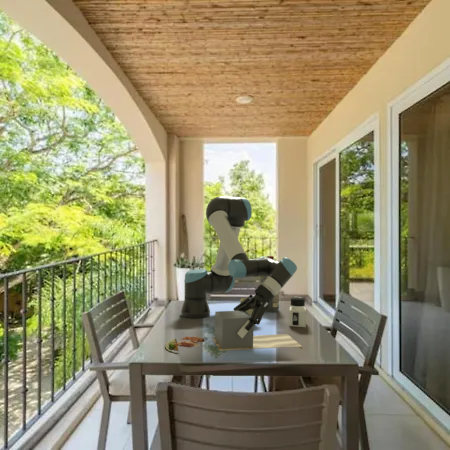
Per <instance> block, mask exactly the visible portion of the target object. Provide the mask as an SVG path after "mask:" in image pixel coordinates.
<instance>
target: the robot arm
mask: <svg viewBox="0 0 450 450" xmlns="http://www.w3.org/2000/svg"><path fill="white" fill-rule="evenodd" d="M252 214H253V209H252V205H251V201H250V200H249V199H248V198H247V197H241V196H222V195H221V196H215V197H214V198H212V199H211V200H210V201H209V202H208V204H207V206H206V210H205V218H206V219H207V220H206V221H207V222H208V224H209V225H210V226H212V227H213V230H214V231H215V234H216V235H217V238H218V240H219V245H218V250H217V254H216V258H215V263H214V264H213V265H211V268H210V271H208V270H207V269H206V268H200V269H199V268H197V269H192V270H191V269H190V270H188V271H186V273H185V274H184V282H183V283H184V301H183V304H182V307H181V309H180V316H181V317H183V318H189V319H201V318H202V319H203V318H207V317H209V316H210V315H211V309H210V306H209V303H208V300H207V299H208V294H220V293H221V294H224V293H229V292H231V291H232V290H233V288H234V286H235V282H236V280H235V279H243V278H251V277H252V278H254V277H256V278H257V277H264V276H267V277H266V278H265V279H264V280H263V281H262V283H261V282H260V284H259V285H258V286H257V287H256V288H255V290H254V293H255V295H252V294H249V296H247V297H246V298H247V299H245V300H244V301H243V302H241V301H240V303H239V304H238V305H236V306H235V307H234V308H233V310H232V311H240V310H243V311H247V310H249V309H253V312H252V315H251V318H249V320H250V321H249V320H248V321H247V322H246V323H245V324H244V325H243V327H242V328H241V329H240V330H239V331H238V332H237V334H238V335H239V336H240V337H241V338H243V337H244V336H245V335H246V333H247V332H248V331H249V330H250V329H251V328H252V326H253V325H254V326H256V325H257V326H258V325H260V323H261V321H262V319H263V317H264V315H265V313H266V312H265V311H266V309H267V308H268V306H269V304H268V303H270V302H271V300H272V299H273V298H274V295H276V294H277V293H279V294H280V291H281V290H282V289H283V288H284V286H285V285H286V284H287V283H288V282H289V281H290V279H291V278H292V277H293V276H294V274H295V273H296V271H297V270H298V266H297V264H296V263H295V262H294V261H293V260H292V259H291V258H289V257H286V256H285V257H282V259H280V260H276V259H274V260H273V259H271V258H269V257H267V256H265V255H264V256H260V257H258V258H249V256H248V255H247V253H246V252H245V249H244V247H243V245H242V244H241V241H240V240H239V234H240V230H241V228H244V227H245V223H246V222H248V221H249V220H250V219H251V218H252ZM254 326H253V327H254Z"/></svg>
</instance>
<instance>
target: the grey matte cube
mask: <svg viewBox="0 0 450 450" xmlns="http://www.w3.org/2000/svg"><path fill="white" fill-rule="evenodd" d="M214 313H215V315H214V337H215V340H216V341H217V343H218V344H219V345H220V347H221V348H222V349H231V348H244V347H253V336H254V326H252V328H251V329H250V330H249V331H248V332H247V333H246V335H245V336H244V337H243V338H241V337H240V336H239V335H238V334H237V332H238V331H239V330H240V329H241V328H242V327H243V325H244V324H245V323H246V322H247V321H248V320H249V318H251V315H250V314H248V313H247V312H246V311H243V310H240V311H234V310H222V311H215V312H214ZM249 321H250V320H249Z"/></svg>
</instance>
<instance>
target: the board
mask: <svg viewBox="0 0 450 450" xmlns="http://www.w3.org/2000/svg"><path fill="white" fill-rule="evenodd" d="M212 340H213V341H214V343H215V345H216V347H217V349H218V351H220V352H221V351H236V350H237V351H238V350H239V351H241V350H256V349H257V350H259V349H260V350H261V349H275V348H277V349H278V348H296V347H297V348H299V349H300V350H303V346H302V345H301V344H300V343H299V342H298V341H296V340H295V339H294V338H293V337H292V336H290V335H289V334H288V333H283V334H282V333H281V334H261V335H260V334H259V335H253V347H244V348H231V349H222V348H221V347H220V345H219V344H218V343H217V341H216V340H215V336H214V337H212Z"/></svg>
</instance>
